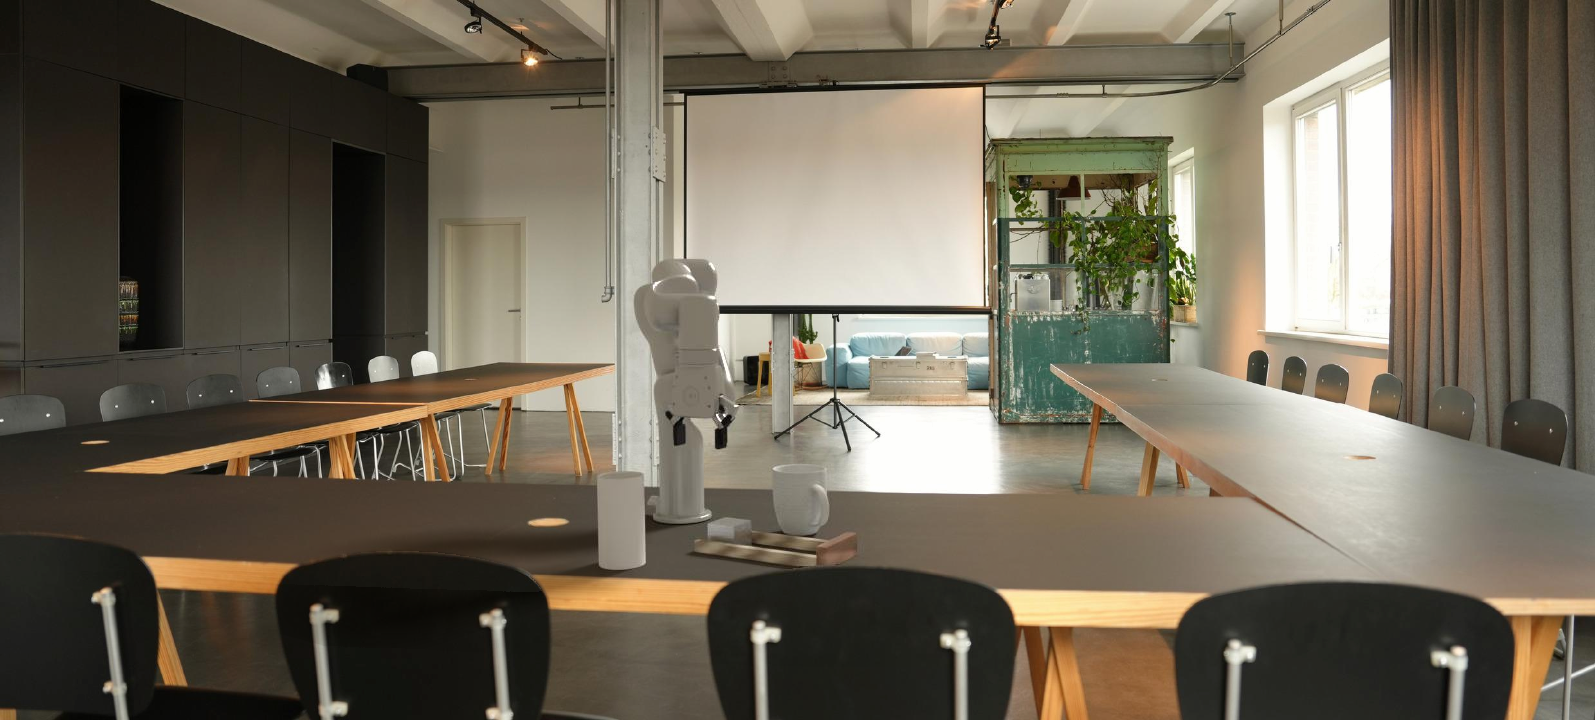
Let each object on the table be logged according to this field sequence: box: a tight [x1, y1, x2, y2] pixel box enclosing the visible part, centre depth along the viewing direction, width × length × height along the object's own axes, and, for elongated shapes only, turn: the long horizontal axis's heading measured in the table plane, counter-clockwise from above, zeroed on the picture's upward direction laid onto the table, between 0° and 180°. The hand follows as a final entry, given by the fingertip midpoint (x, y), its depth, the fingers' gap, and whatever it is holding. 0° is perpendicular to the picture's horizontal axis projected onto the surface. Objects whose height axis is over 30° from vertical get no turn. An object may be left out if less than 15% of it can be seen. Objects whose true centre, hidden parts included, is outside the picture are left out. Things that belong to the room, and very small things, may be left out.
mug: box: [772, 463, 830, 537], centre depth 192 cm, size 15×11×13 cm
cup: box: [596, 470, 647, 571], centre depth 171 cm, size 8×8×16 cm
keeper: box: [707, 516, 753, 547], centre depth 182 cm, size 6×6×5 cm
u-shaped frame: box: [693, 530, 858, 568], centre depth 177 cm, size 28×12×4 cm, turn 60°
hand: (700, 446), depth 186 cm, fingers open, 9 cm apart
